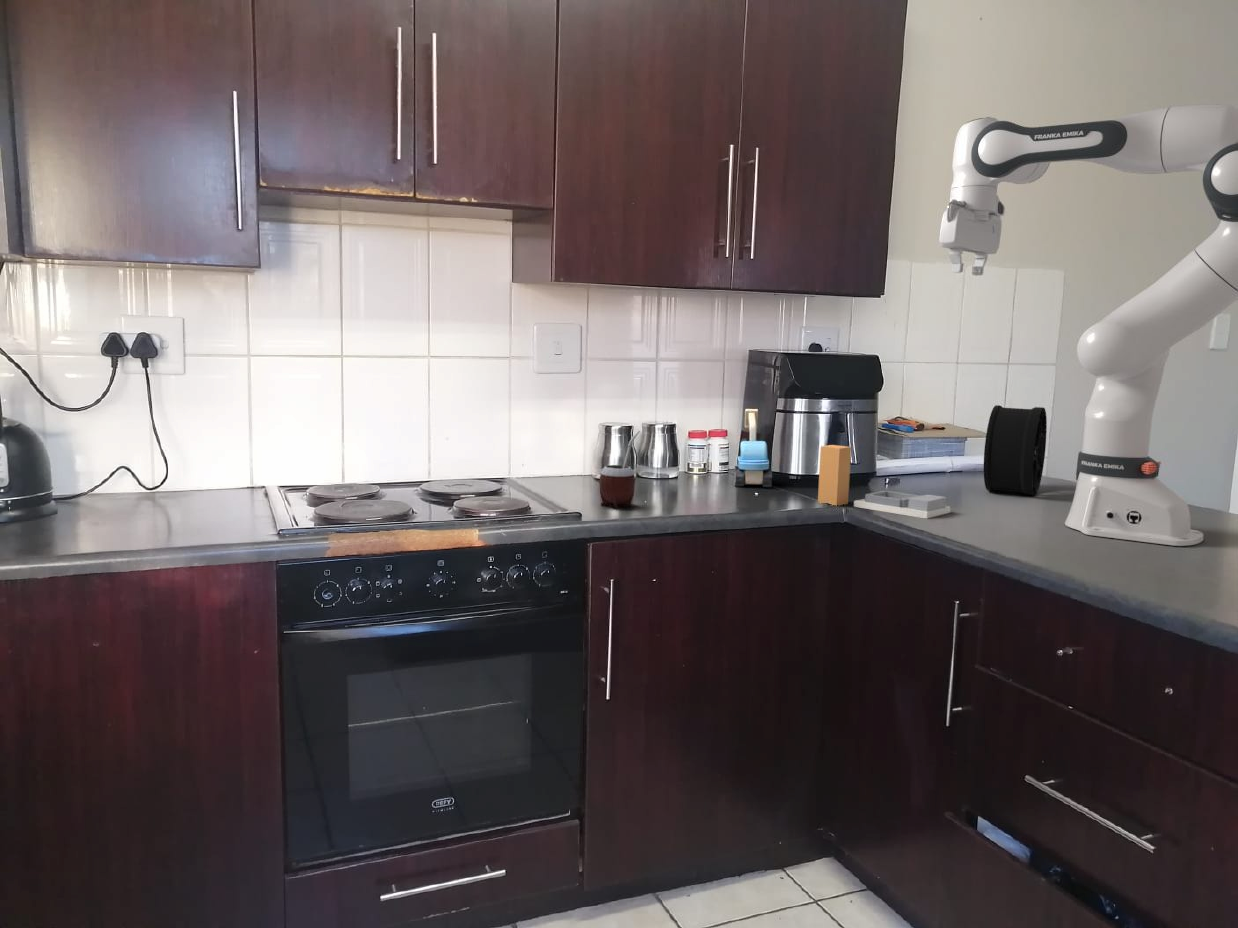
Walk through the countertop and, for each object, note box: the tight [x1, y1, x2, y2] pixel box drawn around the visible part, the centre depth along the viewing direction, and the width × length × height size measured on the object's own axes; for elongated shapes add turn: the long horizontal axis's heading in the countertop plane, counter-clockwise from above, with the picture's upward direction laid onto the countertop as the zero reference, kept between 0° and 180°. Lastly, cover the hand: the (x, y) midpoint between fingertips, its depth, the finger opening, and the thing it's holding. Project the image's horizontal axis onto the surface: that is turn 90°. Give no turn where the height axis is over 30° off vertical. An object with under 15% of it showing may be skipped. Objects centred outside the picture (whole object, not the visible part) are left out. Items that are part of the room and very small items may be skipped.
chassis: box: [853, 490, 951, 519], centre depth 189 cm, size 16×10×3 cm, turn 45°
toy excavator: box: [733, 408, 773, 488], centre depth 218 cm, size 9×17×17 cm, turn 174°
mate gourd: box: [598, 430, 641, 510], centre depth 185 cm, size 8×8×15 cm
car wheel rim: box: [983, 404, 1048, 496], centre depth 213 cm, size 20×10×20 cm, turn 148°
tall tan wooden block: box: [817, 444, 852, 507], centre depth 194 cm, size 4×4×12 cm
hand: (967, 274), depth 189 cm, fingers open, 8 cm apart
